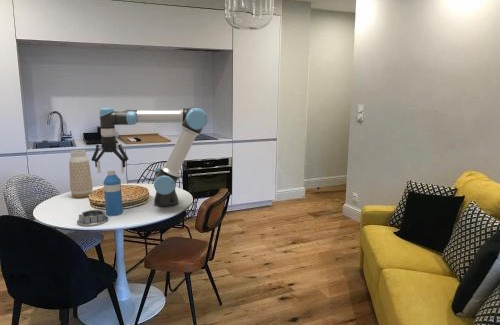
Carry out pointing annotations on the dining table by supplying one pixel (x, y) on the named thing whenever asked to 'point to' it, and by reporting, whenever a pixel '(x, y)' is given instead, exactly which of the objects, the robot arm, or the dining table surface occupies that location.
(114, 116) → the robot arm
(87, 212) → the grey gear
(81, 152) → the vase
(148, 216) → the dining table surface
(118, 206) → the water bottle
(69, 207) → the dining table surface
